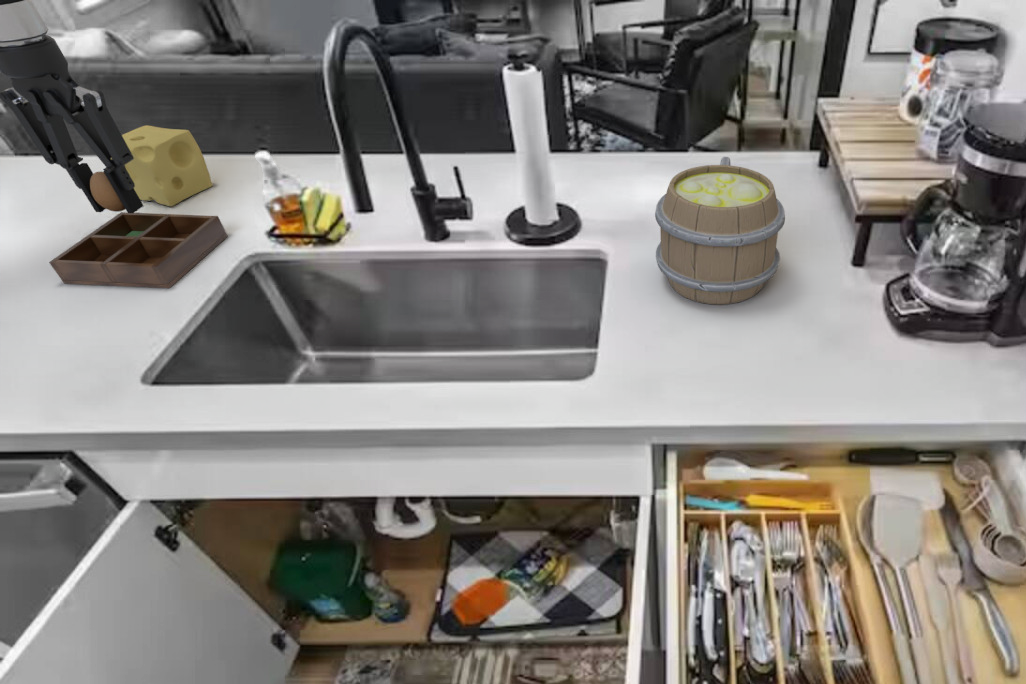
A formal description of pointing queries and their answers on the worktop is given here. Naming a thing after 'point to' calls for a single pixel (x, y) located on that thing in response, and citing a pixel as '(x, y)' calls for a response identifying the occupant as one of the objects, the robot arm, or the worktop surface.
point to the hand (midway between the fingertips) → (119, 208)
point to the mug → (719, 233)
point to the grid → (140, 250)
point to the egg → (105, 192)
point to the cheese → (166, 164)
